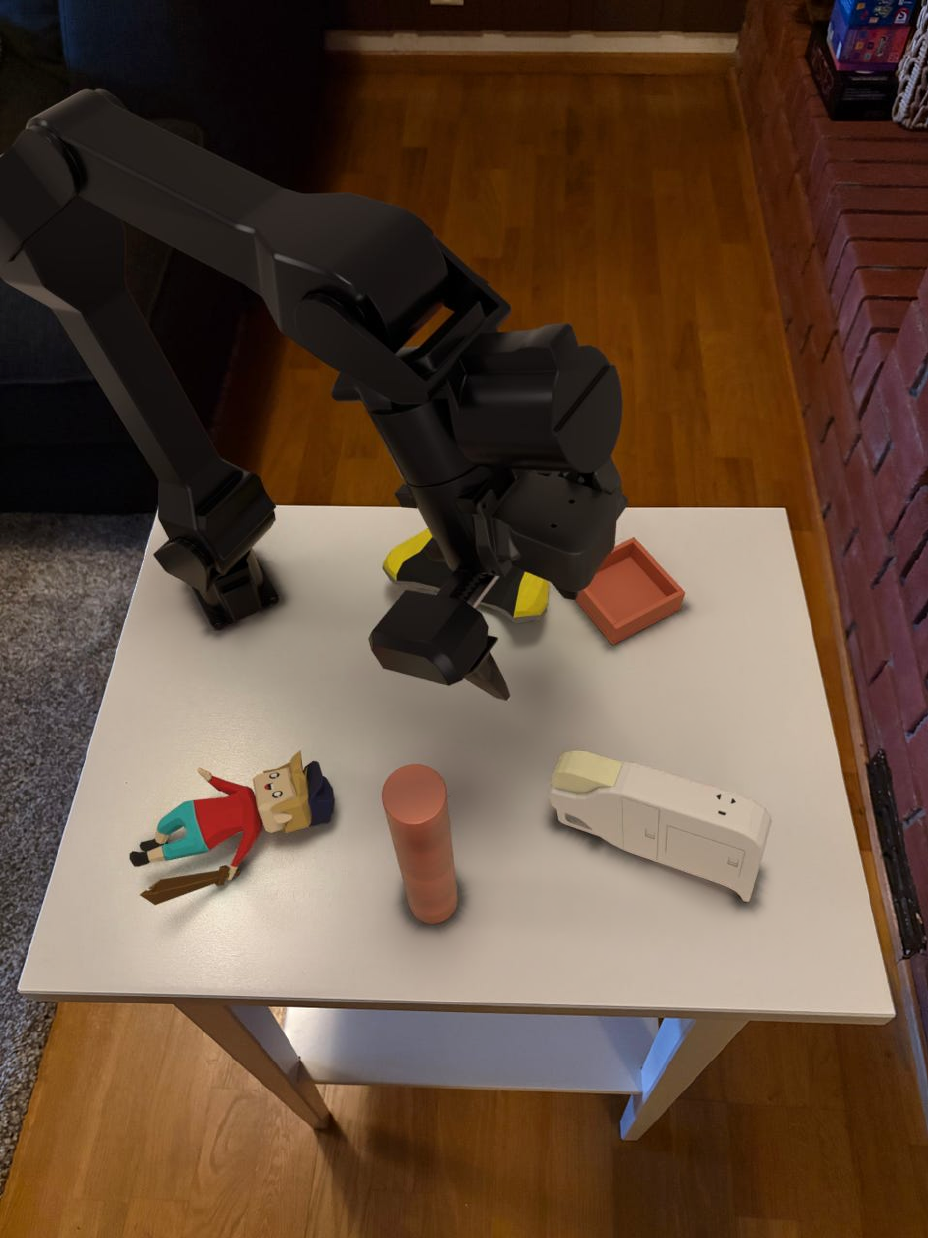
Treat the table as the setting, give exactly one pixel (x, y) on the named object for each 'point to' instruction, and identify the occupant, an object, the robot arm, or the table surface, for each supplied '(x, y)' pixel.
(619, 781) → the white device casing
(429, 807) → the terracotta peg
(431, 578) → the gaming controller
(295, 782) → the toy
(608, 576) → the terracotta bin
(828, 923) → the table surface
